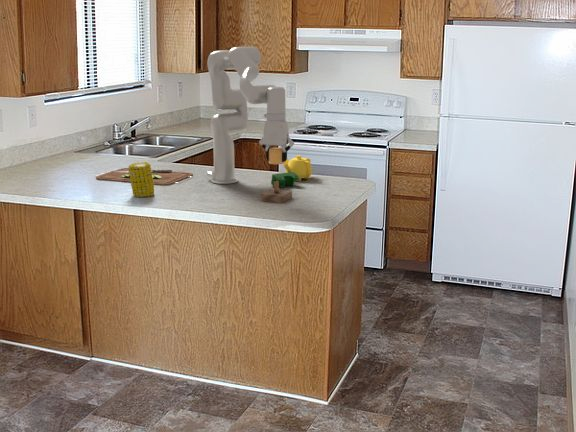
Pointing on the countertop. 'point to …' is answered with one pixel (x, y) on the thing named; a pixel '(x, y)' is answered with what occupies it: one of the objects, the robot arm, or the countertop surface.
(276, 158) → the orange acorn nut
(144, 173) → the food
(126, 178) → the chopping board
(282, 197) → the post block
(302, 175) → the teapot
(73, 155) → the countertop surface
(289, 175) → the clamp
